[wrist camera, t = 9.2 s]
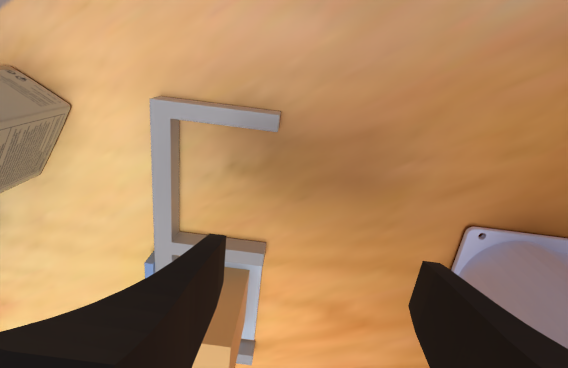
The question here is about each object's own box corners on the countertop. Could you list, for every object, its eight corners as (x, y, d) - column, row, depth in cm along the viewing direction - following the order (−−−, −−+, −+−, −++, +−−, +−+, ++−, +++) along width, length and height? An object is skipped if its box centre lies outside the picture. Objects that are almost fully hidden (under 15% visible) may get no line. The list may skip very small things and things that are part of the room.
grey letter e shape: (280, 111, 20) (279, 115, 18) (254, 349, 27) (251, 368, 26) (150, 94, 20) (137, 97, 18) (158, 337, 27) (148, 355, 26)
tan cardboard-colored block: (249, 269, 24) (230, 347, 18) (244, 321, 26) (225, 409, 19) (196, 263, 24) (158, 338, 18) (195, 315, 26) (160, 400, 19)
